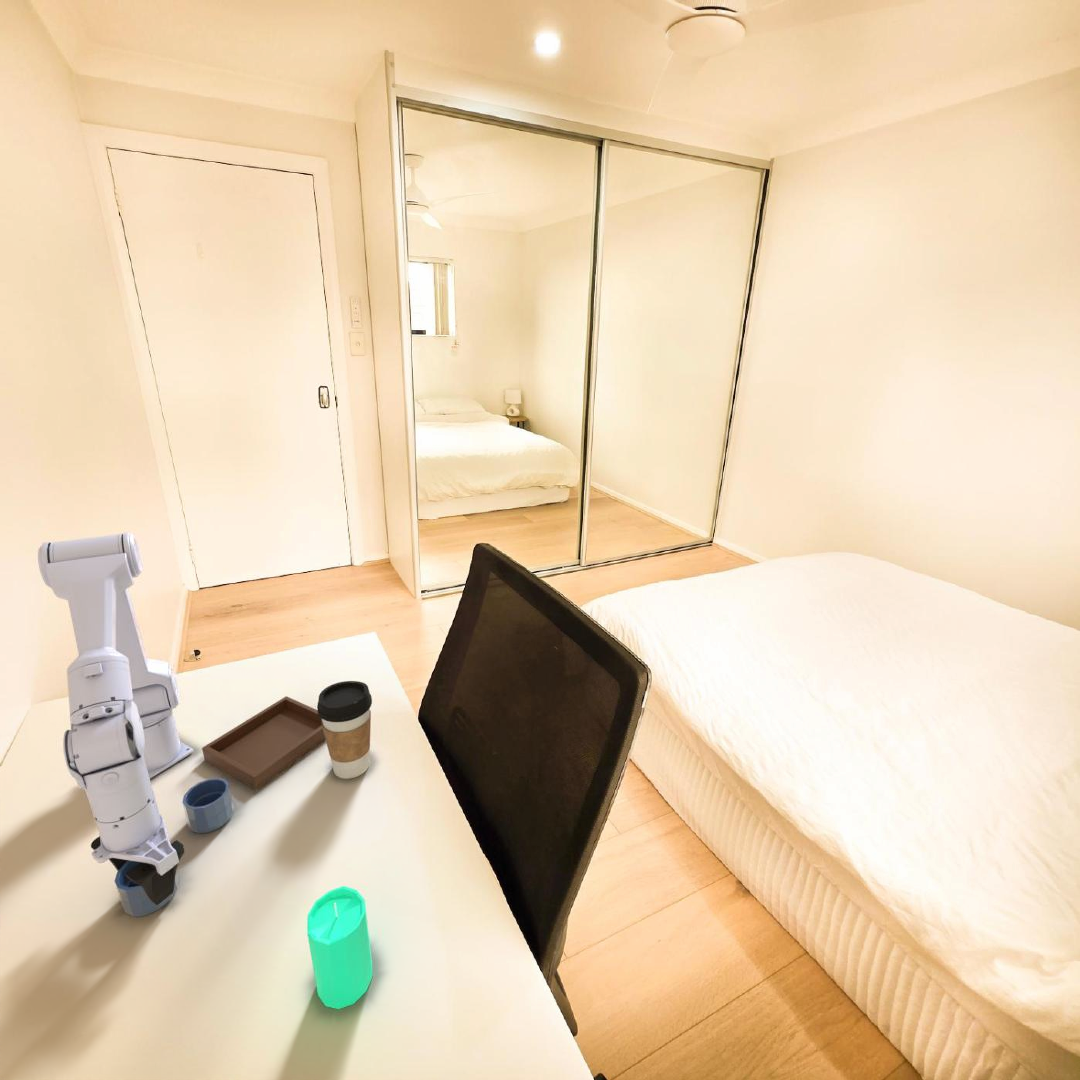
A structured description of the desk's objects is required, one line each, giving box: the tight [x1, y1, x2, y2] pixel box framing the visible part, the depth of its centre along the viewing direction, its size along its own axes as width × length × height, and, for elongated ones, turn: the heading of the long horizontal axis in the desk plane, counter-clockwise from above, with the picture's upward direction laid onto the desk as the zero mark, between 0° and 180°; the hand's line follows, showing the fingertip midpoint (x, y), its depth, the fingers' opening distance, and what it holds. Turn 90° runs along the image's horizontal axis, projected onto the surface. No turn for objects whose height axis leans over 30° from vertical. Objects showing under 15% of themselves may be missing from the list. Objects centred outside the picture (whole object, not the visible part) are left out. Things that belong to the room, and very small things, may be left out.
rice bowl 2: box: [181, 777, 235, 834], centre depth 79 cm, size 6×6×5 cm
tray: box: [201, 695, 326, 791], centre depth 94 cm, size 14×17×3 cm
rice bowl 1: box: [114, 860, 180, 917], centre depth 67 cm, size 6×6×5 cm
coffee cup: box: [316, 680, 373, 780], centre depth 88 cm, size 8×8×15 cm
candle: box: [306, 885, 374, 1010], centre depth 58 cm, size 6×6×12 cm
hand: (149, 885), depth 68 cm, fingers closed on rice bowl 1, 6 cm apart
